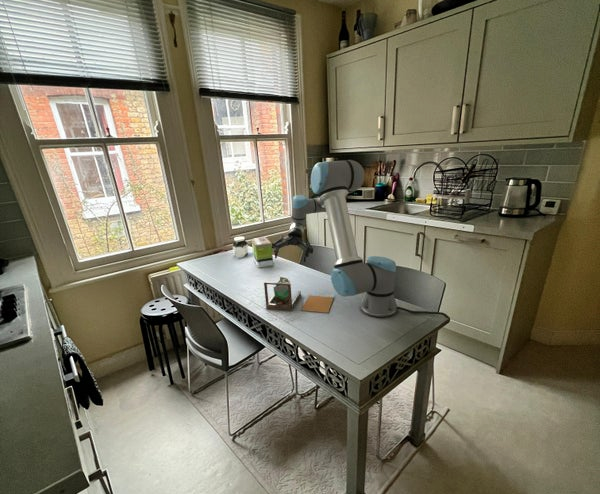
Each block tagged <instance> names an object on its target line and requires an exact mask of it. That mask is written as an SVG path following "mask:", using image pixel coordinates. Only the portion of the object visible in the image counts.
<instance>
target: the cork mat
mask: <svg viewBox="0 0 600 494" xmlns="http://www.w3.org/2000/svg"><path fill="white" fill-rule="evenodd" d="M333 301H334V297H332V296H320V295H308V296H307V299H306V301H305V302H304V304H303V305H302V308H301V309H300V311H301V312H310V313H322V314H328V313H329V311H330V308H331V306H332V303H333Z"/></svg>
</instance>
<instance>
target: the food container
mask: <svg viewBox="0 0 600 494" xmlns="http://www.w3.org/2000/svg"><path fill="white" fill-rule="evenodd" d="M277 283H290V284H291V282H290V280H289V278H287V277H283V276H280V277H279V280H278V281H277ZM274 294H275V301H274V304H283V305H288V303H289V293H288V286H285V285H274V286H273V295H274Z"/></svg>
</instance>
